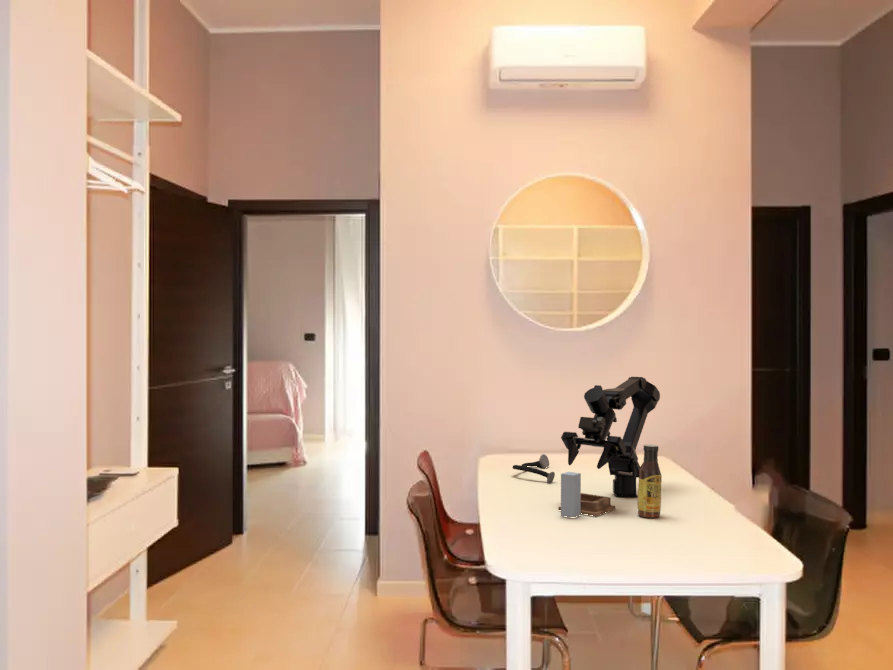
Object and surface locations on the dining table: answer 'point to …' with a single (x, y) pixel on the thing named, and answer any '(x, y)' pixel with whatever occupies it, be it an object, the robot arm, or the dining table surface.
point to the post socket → (595, 504)
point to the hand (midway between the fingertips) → (583, 466)
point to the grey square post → (570, 494)
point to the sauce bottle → (649, 484)
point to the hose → (541, 463)
